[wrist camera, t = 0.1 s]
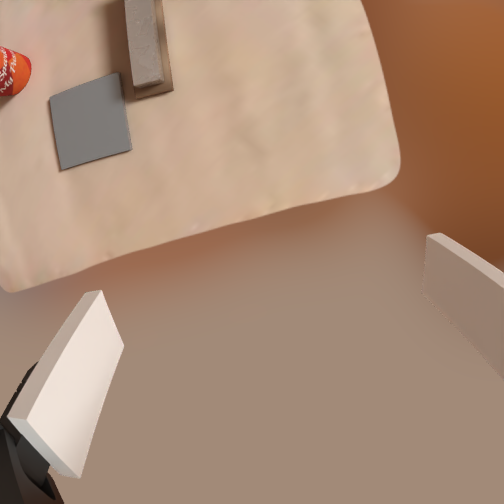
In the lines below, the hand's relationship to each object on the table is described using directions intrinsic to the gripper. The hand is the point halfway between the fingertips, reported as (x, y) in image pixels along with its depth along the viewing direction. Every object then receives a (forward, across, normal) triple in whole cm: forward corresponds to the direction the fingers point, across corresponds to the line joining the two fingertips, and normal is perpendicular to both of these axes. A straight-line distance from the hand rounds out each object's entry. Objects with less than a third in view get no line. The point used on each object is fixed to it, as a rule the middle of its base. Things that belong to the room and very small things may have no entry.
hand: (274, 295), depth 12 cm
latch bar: (+26, -8, +21) cm, 35 cm away
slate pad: (+28, -17, +11) cm, 35 cm away
